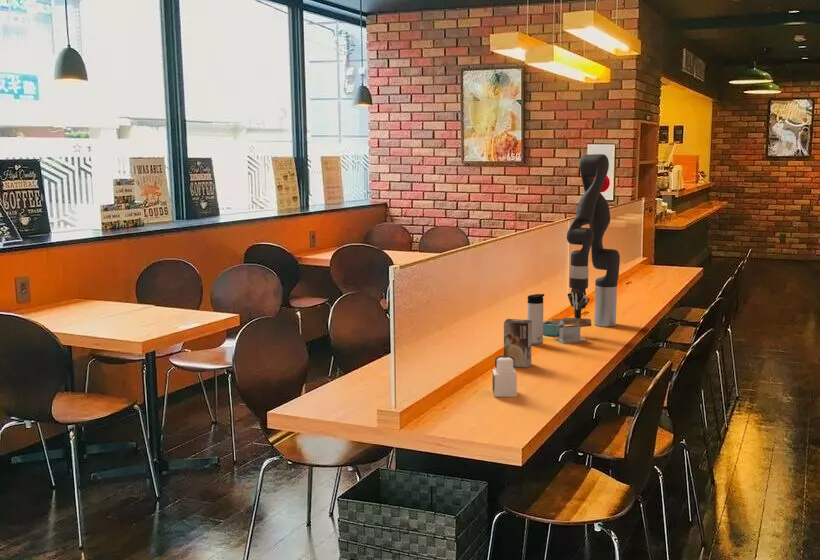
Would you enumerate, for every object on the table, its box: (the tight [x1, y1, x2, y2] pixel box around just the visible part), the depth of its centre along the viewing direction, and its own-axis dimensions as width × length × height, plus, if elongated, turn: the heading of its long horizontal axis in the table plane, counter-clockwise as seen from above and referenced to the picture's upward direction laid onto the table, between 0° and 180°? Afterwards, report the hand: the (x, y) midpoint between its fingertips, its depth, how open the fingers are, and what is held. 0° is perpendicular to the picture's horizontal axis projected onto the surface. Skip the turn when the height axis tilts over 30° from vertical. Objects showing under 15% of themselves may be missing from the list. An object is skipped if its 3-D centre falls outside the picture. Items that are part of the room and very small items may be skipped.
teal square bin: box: [543, 320, 560, 338], centre depth 355 cm, size 8×8×5 cm
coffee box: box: [503, 318, 532, 368], centre depth 305 cm, size 9×6×16 cm
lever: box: [551, 317, 592, 328], centre depth 343 cm, size 13×19×3 cm
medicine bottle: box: [492, 355, 518, 398], centre depth 270 cm, size 7×7×12 cm
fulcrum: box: [554, 320, 587, 345], centre depth 342 cm, size 11×6×8 cm, turn 113°
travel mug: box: [526, 293, 545, 347], centre depth 336 cm, size 6×7×20 cm
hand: (577, 318), depth 351 cm, fingers closed
